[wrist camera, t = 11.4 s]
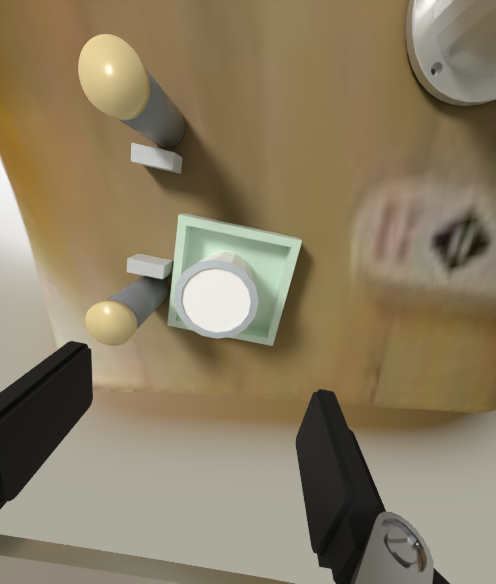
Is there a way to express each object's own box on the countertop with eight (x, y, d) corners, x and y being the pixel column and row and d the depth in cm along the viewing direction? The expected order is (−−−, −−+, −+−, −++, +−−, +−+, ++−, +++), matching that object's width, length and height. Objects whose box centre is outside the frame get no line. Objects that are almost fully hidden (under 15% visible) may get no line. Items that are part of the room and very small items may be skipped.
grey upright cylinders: (188, 105, 21) (146, 43, 13) (168, 306, 28) (131, 349, 20) (146, 96, 21) (77, 26, 13) (136, 300, 28) (86, 340, 20)
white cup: (256, 307, 27) (257, 340, 21) (195, 306, 27) (176, 338, 21) (258, 245, 25) (259, 260, 18) (191, 244, 25) (168, 258, 18)
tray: (297, 237, 25) (302, 240, 23) (271, 334, 29) (272, 345, 27) (186, 213, 24) (178, 214, 22) (174, 315, 28) (167, 325, 26)
